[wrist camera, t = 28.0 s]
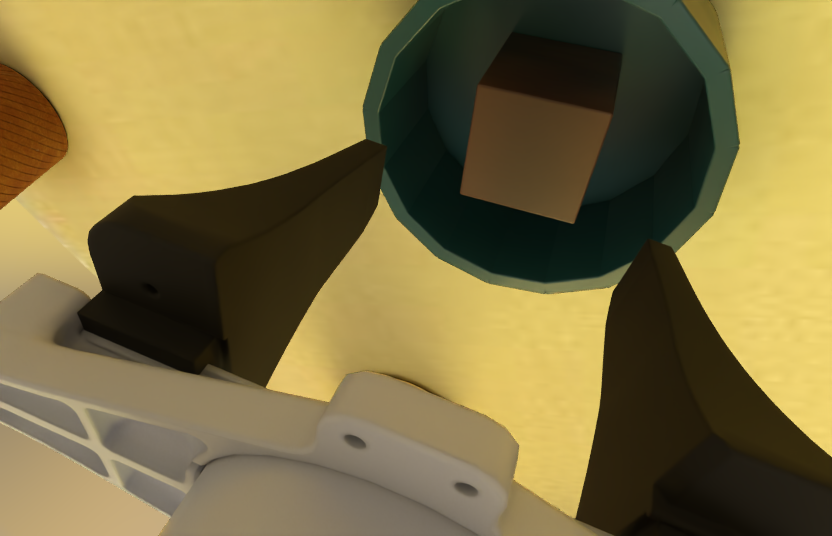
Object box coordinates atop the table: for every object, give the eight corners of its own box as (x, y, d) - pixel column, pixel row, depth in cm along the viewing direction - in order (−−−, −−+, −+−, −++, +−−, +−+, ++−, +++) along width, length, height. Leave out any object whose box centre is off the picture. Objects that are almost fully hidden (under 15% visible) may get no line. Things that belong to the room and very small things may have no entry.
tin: (370, -2, 21) (304, 44, 17) (694, -155, 15) (705, -137, 11) (473, 231, 26) (441, 306, 22) (738, 184, 20) (756, 273, 17)
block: (491, 130, 22) (459, 194, 18) (511, 30, 19) (476, 83, 16) (589, 153, 21) (574, 225, 18) (623, 53, 19) (613, 113, 15)
